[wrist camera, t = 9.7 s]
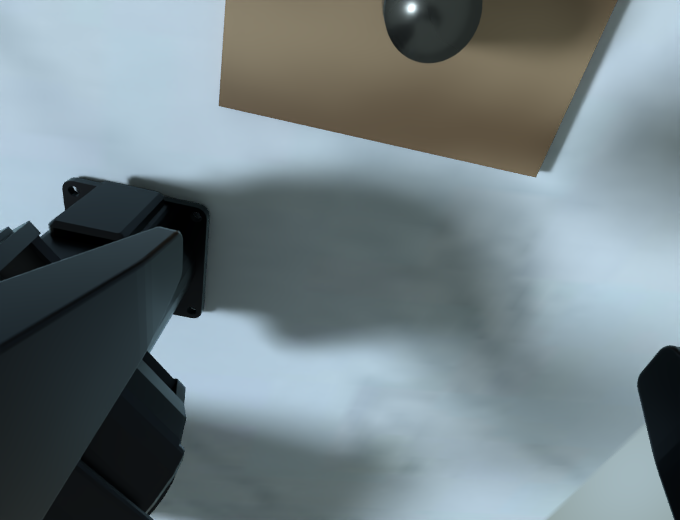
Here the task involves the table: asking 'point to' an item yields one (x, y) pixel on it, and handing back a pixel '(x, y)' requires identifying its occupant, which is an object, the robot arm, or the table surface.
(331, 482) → the table surface
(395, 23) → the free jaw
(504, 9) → the wooden board with blocks
